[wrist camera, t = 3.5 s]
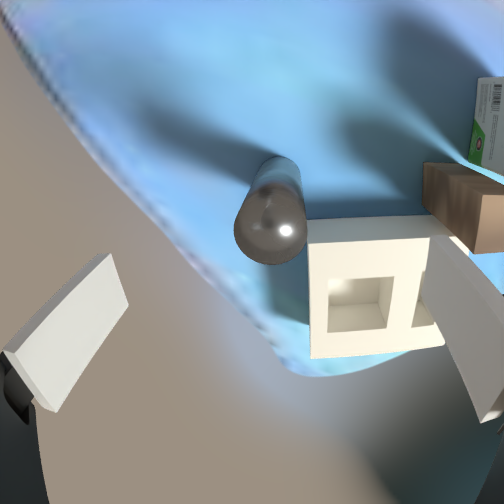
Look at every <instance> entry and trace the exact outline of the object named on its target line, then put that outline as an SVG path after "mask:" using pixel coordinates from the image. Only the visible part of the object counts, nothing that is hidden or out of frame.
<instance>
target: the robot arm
mask: <svg viewBox="0 0 504 504" xmlns="http://www.w3.org/2000/svg"><path fill="white" fill-rule="evenodd" d="M421 297H422V298H423V300H424V302H425V304H426V306H427V308H428V309H429V311H430V313H431V315H432V317H433V319H434V321H435V322H436V324H437V326H438V328H439V330H440V332H441V334H442V336H443V338H444V340H445V342H446V344H447V346H448V348H449V350H450V352H451V354H452V356H453V359H454V361H455V363H456V365H457V367H458V370H459V372H460V373H461V376H462V378H463V381H464V383H465V385H466V387H467V390H468V393H469V395H470V397H471V400H472V402H473V404H474V407H475V410H476V412H477V415H478V418H479V420H480V423H482V422H485V421H488V420H491V419H494V418H497V417H500V415H501V414H502V413H503V411H504V294H501V293H500V292H499V291H498V289H497V288H496V287H495V286H494V285H493V284H492V282H491V281H490V280H489V279H488V278H487V277H486V276H485V275H484V273H483V272H482V271H481V270H480V269H479V268H478V267H477V266H476V265H475V264H474V262H473V261H472V260H471V259H470V258H469V257H468V256H467V255H466V254H465V253H464V252H463V251H462V250H461V249H460V248H459V247H458V246H457V245H456V244H455V243H454V242H453V241H452V240H451V239H450V238H449V237H448V236H447V235H430V241H429V249H428V256H427V263H426V270H425V276H424V281H423V287H422V292H421ZM128 306H129V305H128V302H127V300H126V297H125V294H124V291H123V288H122V285H121V283H120V280H119V277H118V274H117V271H116V268H115V265H114V262H113V258H112V255H111V253H107V254H97V255H96V256H95V257H94V258H93V259H92V260H91V261H89V262H88V263H87V264H86V265H85V266H84V267H83V268H82V269H81V270H80V271H79V272H78V273H76V274H75V275H74V276H73V277H72V278H71V279H70V280H69V281H68V282H67V283H66V284H65V285H64V286H63V287H62V288H61V289H59V291H58V292H56V294H54V295H53V296H52V297H51V298H50V299H49V300H48V301H47V302H46V303H45V304H44V305H43V306H42V307H41V308H40V309H39V310H38V311H37V312H36V314H35V315H34V316H33V317H32V318H31V319H30V320H29V321H28V322H27V323H26V324H25V325H24V326H23V327H22V328H21V329H20V330H19V331H18V332H17V334H16V335H15V336H14V337H13V338H12V339H11V340H10V341H9V342H8V344H7V345H6V346H5V347H4V348H3V349H2V350H3V351H2V352H1V354H0V504H49V500H48V496H47V491H46V487H45V482H44V477H43V472H42V465H41V458H40V451H39V444H38V435H37V426H36V412H35V407H34V405H33V404H32V403H31V400H32V399H33V397H35V398H36V399H37V401H38V402H39V403H40V405H41V406H42V407H43V408H45V409H48V410H51V411H53V412H56V413H57V411H58V410H59V408H60V406H61V405H62V403H63V402H64V400H65V398H66V397H67V395H68V394H69V392H70V391H71V388H72V387H73V386H74V384H75V383H76V381H77V380H78V378H79V377H80V375H81V374H82V372H83V370H84V369H85V368H86V366H87V365H88V363H89V362H90V360H91V359H92V357H93V356H94V354H95V353H96V351H97V350H98V348H99V347H100V345H101V344H102V343H103V341H104V340H105V338H106V337H107V335H108V334H109V333H110V331H111V330H112V328H113V327H114V325H115V324H116V323H117V321H118V320H119V318H120V317H121V316H122V314H123V313H124V312H125V310H126V309H127V307H128ZM503 430H504V424H503V425H502V426H501V427H500V429H499V431H498V432H497V434H500V433H501V432H502V431H503ZM474 504H504V433H503V436H502V439H501V442H500V445H499V448H498V450H497V453H496V456H495V458H494V461H493V463H492V466H491V468H490V471H489V473H488V475H487V478H486V480H485V482H484V485H483V487H482V489H481V491H480V493H479V495H478V497H477V499H476V501H475V503H474Z"/></svg>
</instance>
